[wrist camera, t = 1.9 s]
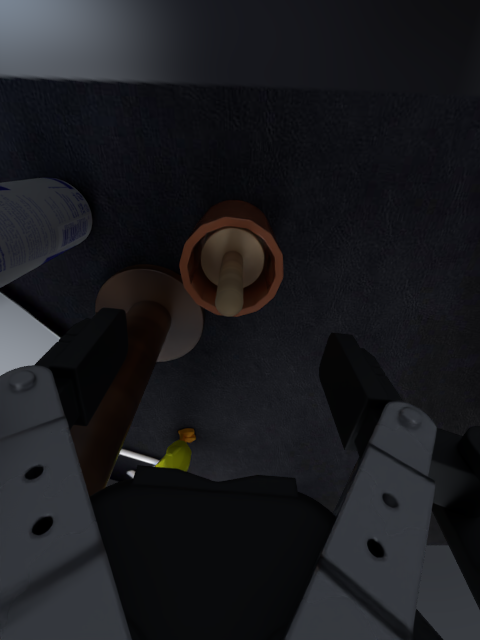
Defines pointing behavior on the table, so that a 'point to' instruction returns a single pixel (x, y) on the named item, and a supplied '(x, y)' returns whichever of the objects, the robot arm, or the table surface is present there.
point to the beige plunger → (232, 264)
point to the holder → (242, 217)
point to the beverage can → (39, 223)
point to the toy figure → (179, 452)
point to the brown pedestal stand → (136, 358)
